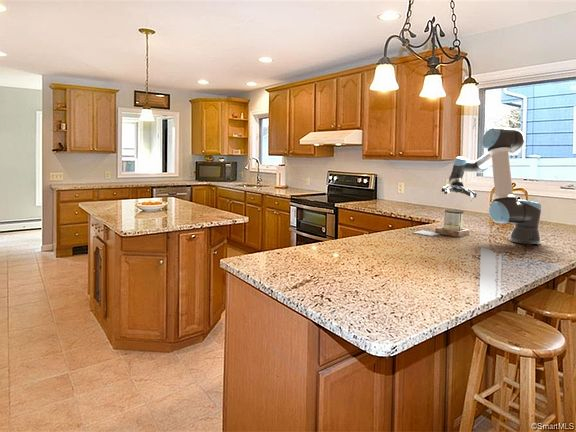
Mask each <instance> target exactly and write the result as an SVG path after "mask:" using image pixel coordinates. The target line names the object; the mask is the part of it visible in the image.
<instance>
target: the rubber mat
mask: <svg viewBox="0 0 576 432" xmlns="http://www.w3.org/2000/svg"><path fill="white" fill-rule="evenodd" d="M412 234H415V235H421V236H428V237H435V236H440V235H442V234H441V233H435V231H434V232H433V231H428V230H418V231H412Z"/></svg>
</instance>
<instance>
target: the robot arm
mask: <svg viewBox="0 0 576 432" xmlns="http://www.w3.org/2000/svg"><path fill="white" fill-rule="evenodd" d="M481 140H482V141H481V144H482V147H483V148H485V149H487V152H486V153H485V154H483V155H482V156H481V157H479V158H478V159H476V160H469V159H468V158H466V157H464V156H457V157H455V159H454V161H453V165H452V170H451V173H450V175H449V176H448V182H449V183H447V184H446V185H445V186H442V187H441V192H442V193H443V192H444V195H446V198H449V196H450V193H451V192H453V193H457V194H458V193H460V194H463V195H467V196H469V199H470V201H471V202H473V200H474V199H475V198H477V192H475V191H473V190H472V189H471V188H469V187H467V188H466V187H465V186H464V183H463V178H464V174H465V173H474V174H475V173H478V174H481V173H482V174H483V173H486V172H487V170H488V168H489V167H490V166H492V174H493V183H494V185H493V186H494V194H495V196H494V198H493V199H492V202H491V203H490V205H489V207H488V214H489V216H490V218H491V220H492V221H493V222H495V223H498V224H514V227H513V229H512V231H511V232H510V235H509V238H508V239H509V241H510V242H513V243H517V244H524V245H532V244H537V245H540V244H541V235H540V230H539V226H540V220H541V214H542V203H540V202H536V201H531V200H525V199H517V197H516V196H515V195H514V194H513V193H514V192H513V183H512V174H511V164H510V154H513V153H515V152H516V151H518V150H519V149H521V148H522V147H523V145H524V142H525V136H524V133H523V132H522V131H521V130H519V129H518V128H513V127H497V126H496V127H494V126H493V127H489V128H487V130H486V131H485V132H484V134H483V136H482V139H481Z"/></svg>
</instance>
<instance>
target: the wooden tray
mask: <svg viewBox="0 0 576 432" xmlns="http://www.w3.org/2000/svg"><path fill="white" fill-rule="evenodd" d="M470 231H471V230H470V229H468V228H463V227H462V231H453V230H447V229H444V226H439V227H435V231H434V232H435V233H441V234H440V235H445V236H450V237H455V238H456V237H457V238H460V237H465V236H469V235H470Z"/></svg>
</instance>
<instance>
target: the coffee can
mask: <svg viewBox="0 0 576 432" xmlns="http://www.w3.org/2000/svg"><path fill="white" fill-rule="evenodd" d="M444 211H445V212H444V221H443V223H444V224H443V227H444V229H447V230H453V231H462V228H463V219H464V210H459V209H451V208H449V209H445V210H444Z"/></svg>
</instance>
